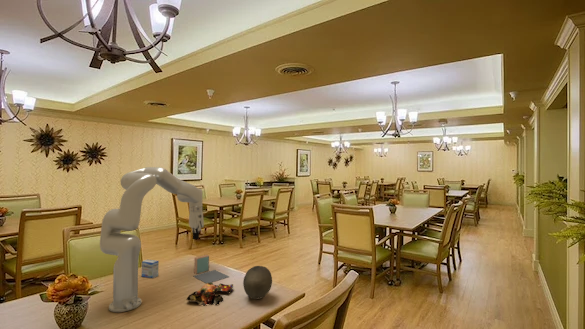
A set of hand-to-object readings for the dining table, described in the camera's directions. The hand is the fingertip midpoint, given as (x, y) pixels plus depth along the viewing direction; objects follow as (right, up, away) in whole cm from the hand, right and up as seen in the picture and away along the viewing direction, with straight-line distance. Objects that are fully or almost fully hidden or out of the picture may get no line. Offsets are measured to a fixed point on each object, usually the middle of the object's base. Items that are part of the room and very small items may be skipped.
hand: (195, 238), depth 178 cm
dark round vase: (+43, -18, -40) cm, 61 cm away
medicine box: (-21, -18, -14) cm, 31 cm away
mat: (+13, -18, -13) cm, 26 cm away
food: (+19, -19, -37) cm, 46 cm away
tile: (+5, -18, -6) cm, 20 cm away
